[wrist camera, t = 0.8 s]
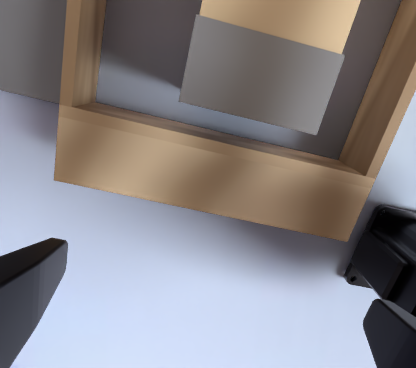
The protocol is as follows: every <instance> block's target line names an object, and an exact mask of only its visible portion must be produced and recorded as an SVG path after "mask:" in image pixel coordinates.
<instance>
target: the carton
mask: <svg viewBox="0 0 416 368" xmlns="http://www.w3.org/2000/svg"><path fill="white" fill-rule="evenodd" d="M106 2H107V0H67V9H66V22H65V36H64V49H63V63H62V76H61V90H60V104H59V117H58V131H57V144H56V158H55V171H54V180H55V181H60V182H65V183H69V184H74V185H79V186H84V187H88V188H93V189H98V190H103V191H107V192H112V193H117V194H122V195H126V196H131V197H136V198H141V199H145V200H150V201H155V202H160V203H164V204H169V205H174V206H179V207H183V208H188V209H193V210H198V211H202V212H207V213H212V214H217V215H221V216H226V217H231V218H236V219H240V220H245V221H250V222H255V223H259V224H264V225H269V226H274V227H278V228H283V229H288V230H293V231H297V232H302V233H307V234H312V235H316V236H321V237H326V238H331V239H335V240H340V241H345V242H348V239H349V237H350V235H351V233H352V230H353V228H354V226H355V224H356V222H357V219H358V217H359V215H360V213H361V210H362V208H363V206H364V204H365V201H366V199H367V197H368V195H369V193H370V190H371V188H372V186H373V184H374V181H375V179H376V177H377V175H378V172H379V170H380V168H381V166H382V164H383V161H384V159H385V157H386V155H387V152H388V150H389V148H390V146H391V144H392V141H393V139H394V137H395V135H396V132H397V130H398V128H399V126H400V123H401V121H402V119H403V117H404V115H405V112H406V110H407V108H408V106H409V103H410V101H411V99H412V97H413V94H414V92H415V90H416V0H402V1H401V3H400V6H399V8H398V11H397V13H396V16H395V18H394V21H393V23H392V26H391V28H390V31H389V33H388V36H387V38H386V41H385V43H384V46H383V49H382V51H381V54H380V56H379V59H378V61H377V64H376V66H375V69H374V71H373V74H372V76H371V79H370V81H369V84H368V86H367V89H366V91H365V94H364V96H363V99H362V101H361V104H360V107H359V109H358V112H357V114H356V117H355V119H354V122H353V124H352V127H351V129H350V132H349V134H348V137H347V139H346V142H345V144H344V147H343V149H342V152H341V154H340V157H339V159H338V160H336V159H331V158H327V157H323V156H319V155H315V154H310V153H306V152H302V151H298V150H294V149H289V148H285V147H281V146H277V145H273V144H269V143H264V142H260V141H256V140H252V139H248V138H243V137H239V136H235V135H231V134H227V133H222V132H218V131H214V130H210V129H206V128H201V127H197V126H193V125H189V124H185V123H181V122H176V121H172V120H168V119H164V118H160V117H155V116H151V115H147V114H143V113H139V112H134V111H130V110H126V109H122V108H118V107H113V106H109V105H105V104H101V103H97V102H95V100H96V91H97V82H98V73H99V64H100V55H101V46H102V37H103V28H104V19H105V11H106Z"/></svg>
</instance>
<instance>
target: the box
mask: <svg viewBox="0 0 416 368" xmlns="http://www.w3.org/2000/svg"><path fill="white" fill-rule="evenodd" d="M360 1H361V0H202V4H201V9H200V14H199V15H197V14H196V18H195V23H194V28H193V32H192V37H191V42H190V47H189V52H188V57H187V62H186V67H185V72H184V77H183V82H182V87H181V92H180V97H179V102H183V103H187V104H191V105H195V106H199V107H203V108H207V109H211V110H215V111H219V112H223V113H228V114H232V115H236V116H240V117H244V118H248V119H252V120H256V121H260V122H264V123H268V124H272V125H276V126H281V127H285V128H289V129H293V130H297V131H301V132H305V133H309V134H313V135H317V133H318V130H319V127H320V124H321V122H322V119H323V116H324V113H325V110H326V108H327V105H328V102H329V99H330V97H331V94H332V91H333V88H334V86H335V83H336V80H337V77H338V75H339V72H340V69H341V66H342V63H343V61H344V58H345V55H342V52H343V49H344V46H345V43H346V40H347V38H348V35H349V32H350V29H351V26H352V24H353V21H354V18H355V15H356V12H357V10H358V7H359V4H360Z"/></svg>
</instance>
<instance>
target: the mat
mask: <svg viewBox="0 0 416 368" xmlns="http://www.w3.org/2000/svg"><path fill="white" fill-rule="evenodd" d="M66 9H67V0H0V90H3V91H7V92H11V93H15V94H20V95H24V96H28V97H32V98H37V99H41V100H45V101H49V102H54V103H58V104H60V90H61V76H62V63H63V49H64V36H65V22H66Z"/></svg>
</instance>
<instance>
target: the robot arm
mask: <svg viewBox="0 0 416 368" xmlns="http://www.w3.org/2000/svg"><path fill="white" fill-rule="evenodd" d="M384 210H385V212H384V213H383V214H382V215H381V212H382V211H384ZM67 251H68V243H67V241H66V240H62V239H57V238H49V239H47V240H44V241H41V242H38V243H36V244H33V245H30V246H27V247H25V248H22V249H19V250H16V251H14V252H11V253H8V254H5V255H3V256H0V368H10V366H11V365H12V363H13V362H14V360H15V359H16V357H17V355H18V354H19V352H20V351H21V349H22V348H23V346H24V345H25V343H26V342H27V340H28V339H29V337H30V336H31V334H32V333H33V331H34V330H35V328H36V326H37V325H38V323H39V321H40V319H41V317H42V316H43V314H44V312H45V310H46V308H47V306H48V304H49V302H50V300H51V298H52V296H53V294H54V292H55V290H56V289H57V287H58V285H59V283H60V281H61V279H62V277H63V275H64V272H65V269H66V263H67ZM352 276H354V277H353V278H351V277H352ZM344 278H345V280H346V281H347V282H348V283H349V284H351V285H357V286H362V287H367V288H372V289H373V290H374V291H375V292H376V294H377V295H378V296H379V297H380V298H381V299H375V300H374V301H373V302H372V304H371V306H370V308H369V310H368V312H367V314H366V316H365V318H364V320H363V328H364V331H365V334H366V337H367V340H368V343H369V346H370V349H371V352H372V355H373V358H374V361H375V364H376V366H377V368H416V212H413V211H409V210H404V209H400V208H395V207H391V206H387V205H379V206H378V207H376V209H375V210H374V212H373V214H372V217H371V219H370V221H369V223H368V225H367V227H366V229H365V232H364V233H363V235H362V237H361V239H360V241H359V244H358V246H357V248H356V250H355V252H354V254H353V256H352V259H351V262H350V264H349V266H348V268H347V270H346V273H345V275H344Z"/></svg>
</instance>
